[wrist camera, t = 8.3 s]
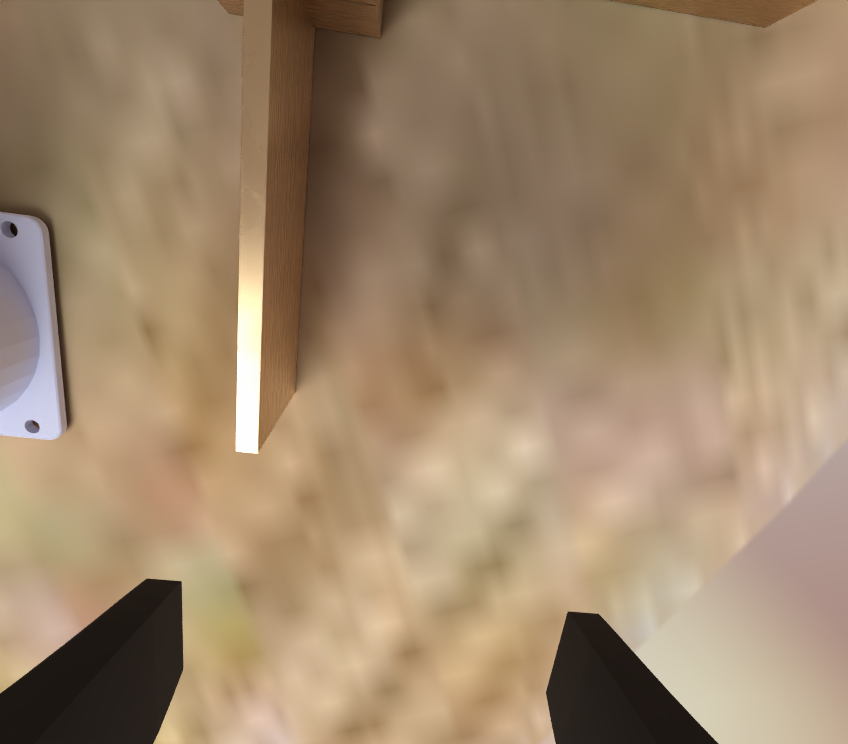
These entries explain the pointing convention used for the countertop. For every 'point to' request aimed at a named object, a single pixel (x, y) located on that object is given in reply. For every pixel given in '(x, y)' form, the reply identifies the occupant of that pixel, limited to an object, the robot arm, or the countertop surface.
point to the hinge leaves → (287, 177)
